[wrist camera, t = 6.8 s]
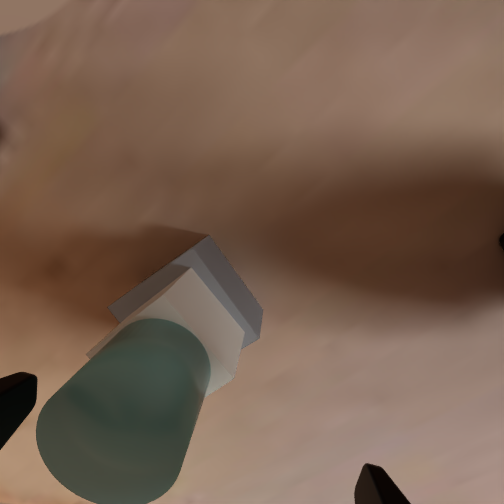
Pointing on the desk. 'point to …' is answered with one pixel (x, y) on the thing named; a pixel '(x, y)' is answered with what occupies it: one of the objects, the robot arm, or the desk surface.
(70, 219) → the desk surface
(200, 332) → the top block
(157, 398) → the teal cylinder
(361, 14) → the desk surface
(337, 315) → the desk surface
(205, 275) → the base block
